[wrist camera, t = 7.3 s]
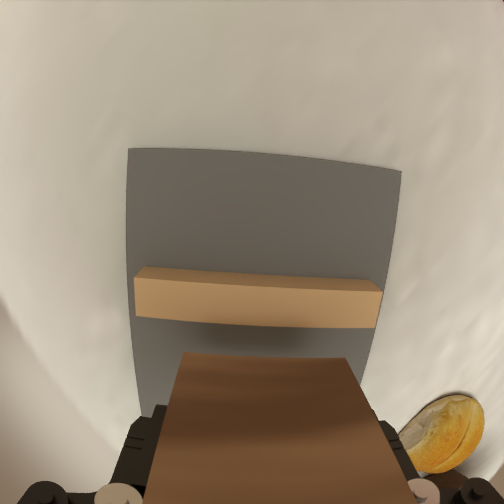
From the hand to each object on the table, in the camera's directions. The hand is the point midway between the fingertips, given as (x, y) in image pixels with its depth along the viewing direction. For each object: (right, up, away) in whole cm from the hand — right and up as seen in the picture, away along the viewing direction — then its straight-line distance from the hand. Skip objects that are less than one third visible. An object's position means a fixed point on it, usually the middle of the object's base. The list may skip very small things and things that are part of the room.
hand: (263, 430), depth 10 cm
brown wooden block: (0, 0, +2) cm, 2 cm away
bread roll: (+15, -9, +12) cm, 22 cm away
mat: (0, +2, +8) cm, 8 cm away
